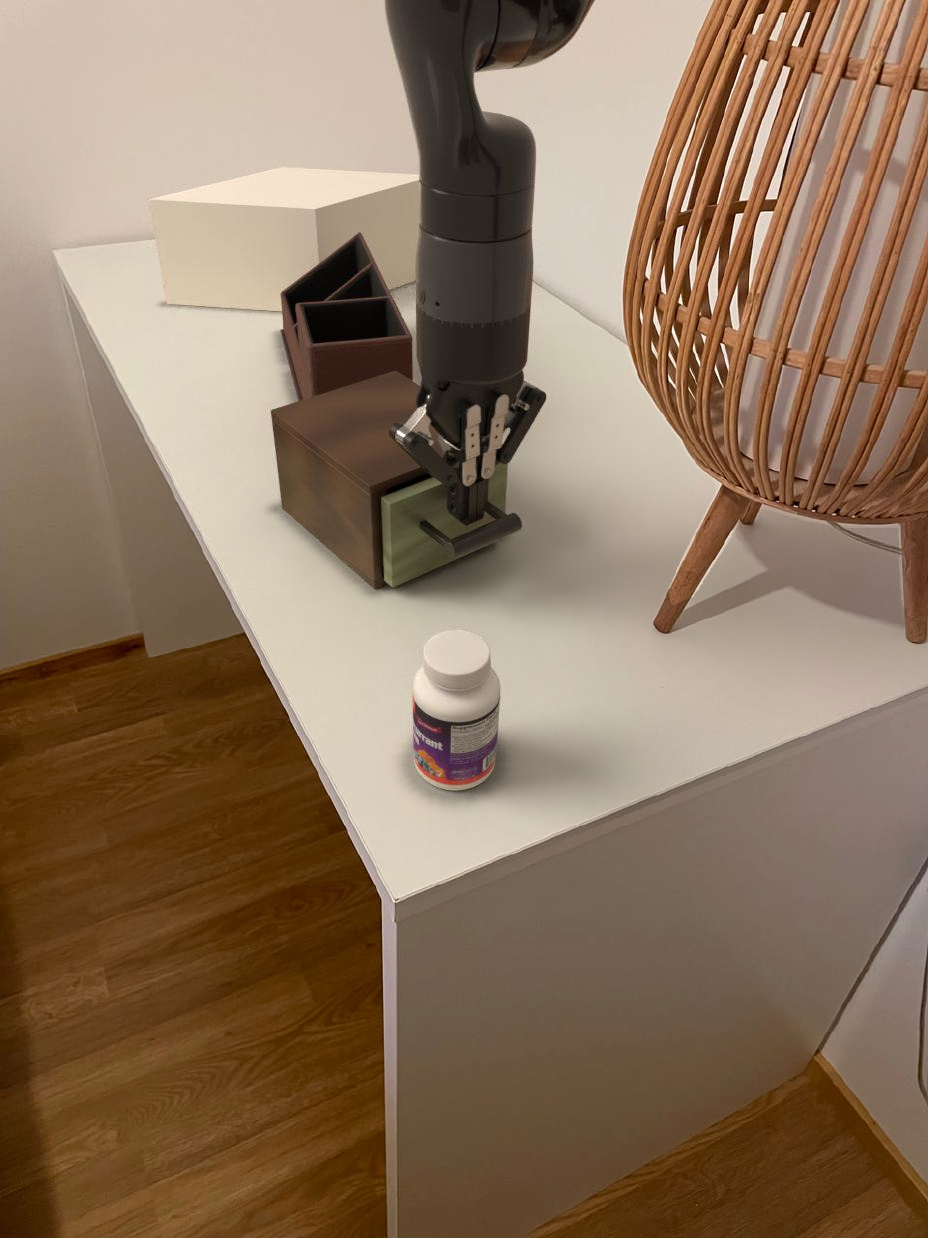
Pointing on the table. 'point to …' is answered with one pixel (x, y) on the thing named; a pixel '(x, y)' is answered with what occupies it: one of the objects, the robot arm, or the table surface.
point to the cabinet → (346, 464)
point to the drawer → (436, 526)
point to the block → (280, 232)
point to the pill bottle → (455, 711)
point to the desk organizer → (343, 324)
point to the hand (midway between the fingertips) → (467, 517)
